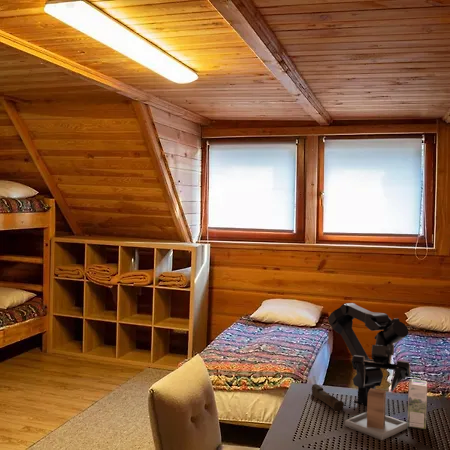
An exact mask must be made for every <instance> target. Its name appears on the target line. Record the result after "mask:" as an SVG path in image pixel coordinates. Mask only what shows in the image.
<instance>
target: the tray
mask: <svg viewBox="0 0 450 450" xmlns="http://www.w3.org/2000/svg"><path fill="white" fill-rule="evenodd" d="M344 425H345V427H346V428H348V427H349V429H351V430H354V431H356V432H359V433H362V434H363V435H364V434H365V435H367V436H370V437H372V438H375V439H377V440H380V441H384V440H386V439H388V438H391V437H393V436H394V435H397V434H398V433H401V432H403V431H404V430H405V431H406V429H408V421H404V420H402V419H401V420H400V419H398V418H395V417H392V416H389V415H386V414H385V425H384V427H383V429H379V428H373V427H367V411H365V412H364V411H363V412H362V413H360V414H357V415H355V416H354V415H353V417H350V418H348V419H345V420H344Z"/></svg>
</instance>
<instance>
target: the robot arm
mask: <svg viewBox="0 0 450 450" xmlns="http://www.w3.org/2000/svg"><path fill="white" fill-rule="evenodd" d="M327 319H328V323H329V325H330V327H331V328H332V330H334V331H335V332H336V333H338V334H339V335H340V336H341V338H342V340H343V341H344V343H345V345H346V346H347V349H348V351H349V352H350V354H351V356H352V357H351V366H352V369H353V370H355V373H356V375H355V376H354V377H353V378H352V383H353V386H355V387H357V398H355V399H354V402H355V403H358V404H362V405H365V406H367V402H368V392H369V390H370V388H372V389H376V388H377V387H380V386H381V385H382V380H383V378H384V374H383V373H384V372H383V371H382V369H384V370H391V371H394V375H393V378H392V382H391V389H390V391H391V392H393V391H394V390H395V389H396V388H397V386H398V384H399V383H400V382H401V381H402V380H403V379H406V378H410V377H411V364H410V362H409V361H405V360H396V363H391V360H392V356H394V353H395V345H394V344H396V343H398V342H400V341H401V340H402V339H404V338H406V337H407V336H408V334H409V329H408V327H407V325H406V324H405V323H403V322H402V321H400V318H398V317H397V318H391V317H389V315H388V314H387V313H386V312H385V313H384V312H377V311H376V312H375V311H374V312H373V311H370V310H368V309H366V308H364V307H362V306H359V305H357V304H356V303H354V302H345V303H343V304H341V306H340V307H338V308H336V309H334V310H332V312H331V313H330V314H329V316H328V318H327ZM354 319H357V320H358V321H361V322H363V323H364V326H365V327H366V328H367V329H368V330H369V331H371V332H373V331H378V332H377V333H376V335H375V336H374V339H375V344H372V345H371V358H369V356H368V354H367V353H366V351H365V349H364V347H363V345H362V343H361V342H360V340H359V338H358V336H357V335H356V332H355V331H354V330H353V323H354V322H353V320H354ZM334 331H333V332H334Z"/></svg>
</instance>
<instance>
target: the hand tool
mask: <svg viewBox="0 0 450 450" xmlns="http://www.w3.org/2000/svg"><path fill="white" fill-rule="evenodd" d="M311 394H312V396H313V397H314V398H315V399H316V400H319V401H321V402H323V403H324V404H326V405H327V406H328V407H330V408H331V409H333V411H334V412H335V411H339V412H342V411H343V410H344V407H345V403H344V401H342V400H339V399H337V398H336V397H335V396H333V395H331V394H329V393H327V392H326V391H325V390H324V388H323V386H321V385H318V384H316V383H314V384H312V386H311Z"/></svg>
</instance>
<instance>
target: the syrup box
mask: <svg viewBox="0 0 450 450" xmlns="http://www.w3.org/2000/svg"><path fill="white" fill-rule="evenodd" d="M407 396H408V397H407V400H408V401H407V428H414V429H422V430H426V428H427V403H428V401H427V400H428V382H427V380H421V379H412V378H411V379H408V395H407Z"/></svg>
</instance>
